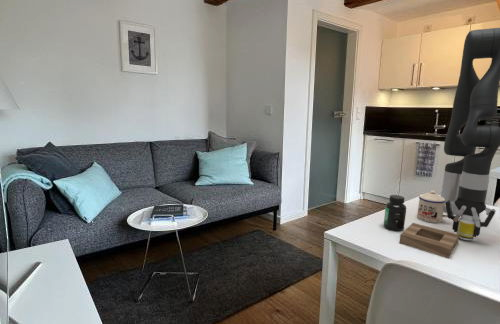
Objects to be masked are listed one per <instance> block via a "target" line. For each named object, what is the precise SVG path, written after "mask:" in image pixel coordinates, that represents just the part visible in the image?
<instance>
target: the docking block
mask: <svg viewBox="0 0 500 324" xmlns="http://www.w3.org/2000/svg"><path fill="white" fill-rule="evenodd" d="M459 239H460V238H459V234H457V233H456V232H451V231H447V230H443V229H440V228H435V227H433V226H432V227H431V226H428V225H424V224H421V223H416V222H412V223H411V224H410V225H409V226H408V227H407V228H405V230H403V232H402V231H401V233H400V235H399V244H400V245H401V244H402V245H405V246H408V247H412V248H414V249H417V250H421V251H425V252H428V253H430V254H433V255H438V256H440V257H443V258H447V259H449V258H450V257H451V255H452V254H453V252H454V251H455V249H456V247H457V246H458V244H459Z"/></svg>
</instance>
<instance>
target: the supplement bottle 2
mask: <svg viewBox="0 0 500 324" xmlns="http://www.w3.org/2000/svg"><path fill="white" fill-rule="evenodd" d="M475 226H476V224H475V220H474V217H473V216H469V215H465V214H462V215H461V216H460V218H459V222H458V228H457V232H456V234H459V239H461V240H465V241H472V240H474V238H475V237H473V235H474V229H475Z"/></svg>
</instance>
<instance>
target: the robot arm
mask: <svg viewBox="0 0 500 324" xmlns="http://www.w3.org/2000/svg"><path fill="white" fill-rule="evenodd" d="M476 59H477V60H478V59H480V60H481V59H491V63H490V65H489V67H488V69H487V70H486V71H485V74H483V76H482V77H481V78H479V76H478V75H477V72H476V70H475V68H474V60H476ZM499 87H500V27H493V28H492V27H491V28H482V29H473V30H470V31H469V32H468V33H467V34H466V36H465V39H464V43H463V51H462V57H461V66H460V71H459V77H458V83H457V86H456V90H455V94H454V98H453V104H452V109H451V117H450V122H449V125H448V130H447V133H446V137H445V140H444V144H443V152H444V154H445V155H447V156H452V157H454V156H455V157H463V158H462V159H459V160H458V161H454V162H449V163H446V164H445V166H444V173H443V179H442V186H441V193H440V196H441V197H443V198H445V201H446V202H445V203H444V204H445V205H446V207H444V210H443V213H446V215H447V217H446V218H448V219H449V220H452V221H453V223H452V227H451V228H452V230H453V233H457V228H458V222H459V219H460V218H461V215H462V214H465V215H469V216H473V217H474V220H475V224H476V226H475V229H474V235H473V237H474V238H477V237H478V236H480V234H481V228H482V227H483V228H487V227H488V226H489V224H490V222H491V221H492V219H493V218H494V215H495V214H496V212H497V211H496V209H495V208H490V207H487V206H486V200H487V194H488V189H489V182H490V171H491V165H492V161H493V159H494V157H495V155H496V153H497V151H498V149H499V148H500V126H499V125H485V124H480V125H479V124H478V122H479V121H480V122H481V121H486V120H490V119H493V118H495V117H496V116H497V114H498V101H499V97H498V96H499ZM463 127H464V128H463ZM462 128H463V130H462V132H461V133H459V132H460V131H461V129H462ZM477 148H483V150H482V151H479V152H477V153H476V150H477ZM452 209H453V212H452ZM484 211H485V215H487V217H486V218H485V219H484V221H481V214H482V213H483V212H484Z"/></svg>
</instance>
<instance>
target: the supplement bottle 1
mask: <svg viewBox="0 0 500 324" xmlns="http://www.w3.org/2000/svg"><path fill="white" fill-rule="evenodd" d="M404 203H405V197H404V196H402V195H397V194H392V195H389V199H388V202H387V203H386V204H385V208H384V209H385V210H384V217H383V227H384V228H385V229H387V230H390V231H393V232H402V231H404V229H405V223H406V215H407V214H406V213H407V206H406V205H405V204H404Z"/></svg>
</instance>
